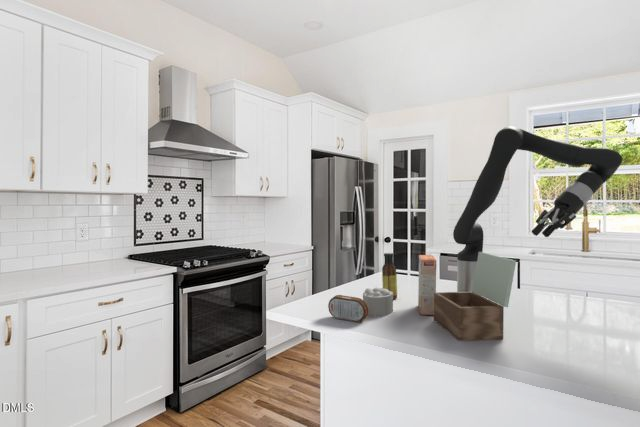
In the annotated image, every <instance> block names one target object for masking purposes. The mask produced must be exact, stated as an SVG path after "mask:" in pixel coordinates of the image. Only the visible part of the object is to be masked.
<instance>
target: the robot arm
mask: <svg viewBox="0 0 640 427" xmlns="http://www.w3.org/2000/svg"><path fill="white" fill-rule="evenodd" d="M517 150H518V151H527V152H529V153H530V152H532V153H534V154H537V155H540V156H543V157H545V158H546V159H549V160H552V161H554V162H556V163H560V164H563V165H568V166H572V167H575V168H580V167H582V166H584V165H590V166H589V168H588V169H587V170H586V171H584V172H582V173H581V174H580V175H579V176H578V177H577V178H575V179H574V181H573V182H572V183H571V184H570V185H568V186H567V187H566V188H565V189H564V190H563V191H562V192H561V194H559V195H558V196H557V198H555V200H554V201H553V206H554V207H553V208H551V209H550V210H549V211H547V210H546V209H544V210H542V212H541V213H540V214H539V216H538V217H537V219H536V220H535V223H537V225H536V226H535V227H534V228H533V229H532V230H531V233H532V235H533V236H536V237H537V236H539V234H540V233H541V232H542V235H543V236H544V237H545V238H549V237H550V236H551V235H552V234H553V233H554V232H555V230H556V231H557V230H558V229H560V230H562V229H563V228H565V227H566V226H567V225H568V224H570V223H571V222H572V221H573V220H576V218H577V215H576V214H577V213H578V212H580V210H581V209H583V207H584V206H585V205H586V204H587V203H588V202H589V201H590V199H591V198H592V197H593V196H594V194H595V193H597V191H598V190H599V189H600V188H601V187H602V185H604V184H605V183H606V182H607V181H608V180H609V179H611V177H612V176H613V175H614V174H615V173H616V171H617V170H618V169H619V167H620V166H621V165H622V163H623V156H622V154H621V153H620V152H619V151H616V150H614V149H611V148H606V147H584V146H581V145H577V144H573V143H569V142H565V141H560V140H555V139H551V138H548V137H544V136H541V135H537V134H536V133H535V134H534V133H532V132H529V131H527V130H524V129H522V128H520V127H518V126H514V125H508V126H505V127H503V128H502V129H501V130H499V131H498V132H497V133H496V135H495V137H494V140H493V144H492V147H491V150H490V152H489V156H488V159H487V161H486V163H485V165H484V166H483V168H482V170H481V172H480V174H479V175H478V177H477V180H476V182H475V184H474V186H473V188H472V192H471V195H470V197H469V199H468V202H466V206H465V208H464V210H463V212H462V213H461V215H460V217H459V218H458V219H457V220H458V221H457V222H456V224H455V226H454V228H453V233H452V234H453V235H452V236H453V239H454V240H453V241H454V242H455V243H456V244H457V245H465V246H464V248H463V249H462V250H460V251H459V252H458V253H457V257H456V258H457V261H456V264H457V265H456V267H457V269H456V270H457V271H456V274H457V275H456V276H457V277H456V278H457V280H456V282H457V283H456V287H457V288H456V290H457V291H456V292H473V291H472V288H473V282H474V276H475V271H476V265H477V259H478V254H479V252H483V250H484V230H483V227H482V225H481V224H480V223H478V222H477V220H478V219H479V217H480V216H481V215H482V214H483V213H484V212H486V211H487V210H488V209H489V208H490V207H491V206H492V205H493V203H494V202H495V201H496V200H497V197H498V196H499V193H500V191H501V189H502V186H503V182H504V180H505V175H506V171H507V168H508V166H509V164H510V162H511V160H512V158H513V157H514V155H515V154H516V152H517ZM483 253H484V252H483ZM474 293H475V292H474ZM476 294H477V293H476ZM478 295H479V294H478ZM480 296H481V295H480Z"/></svg>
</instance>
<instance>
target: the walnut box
mask: <svg viewBox="0 0 640 427" xmlns="http://www.w3.org/2000/svg"><path fill="white" fill-rule="evenodd" d="M504 308H505V307H504V306H502V305H500V304H497V303H495V302H493V301H491V300H489V299H487V298H485V297H483V296H480V295H478V294H476V293H474V292H457V291H448V292H446V291H445V292H436V293H434V315H433V321H434V322H435V323H436V324H438V326H441V328H443V329H444V330H446V332H448V333H449V334H450V335H452V336H453V338H455V339H456V340H458V342H459V341H460V342H462V341H464V342H465V341H466V342H467V341H484V340H485V341H486V340H487V341H489V340H490V341H493V340H504V315H505V314H504V313H505V312H504Z"/></svg>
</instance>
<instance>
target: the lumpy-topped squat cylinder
mask: <svg viewBox="0 0 640 427" xmlns="http://www.w3.org/2000/svg"><path fill="white" fill-rule="evenodd" d="M362 300H363V301H364V302H365V303H366V304H367V307H368V315H367V317H373V318H375V317H376V318H377V317H384V316H388V315H390V314H392V313H393V312H394V299H393V292H391V291H389V290H387V289H384V288H383V287H382V288H381V287H374V288H373V289H371V288H369V287H368V288H365V290H364V292H362Z"/></svg>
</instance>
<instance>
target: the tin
mask: <svg viewBox="0 0 640 427" xmlns="http://www.w3.org/2000/svg"><path fill="white" fill-rule="evenodd" d="M327 307H328V308H327V309H328V311H329V314H330V315H331V316H332V317H333V318H335V319H337V320H341V321H342V320H343V321H349V322H354V323H360V322H362V321H364V320H365V319H366V318H367V317H368V316H367V315H368V307H367V304H366V303H365V302H364V301H363V298H359V297H356V296H348V295H342V294H337V295H334V296H333V297H331V298H330V300H329V301H328V305H327Z"/></svg>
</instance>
